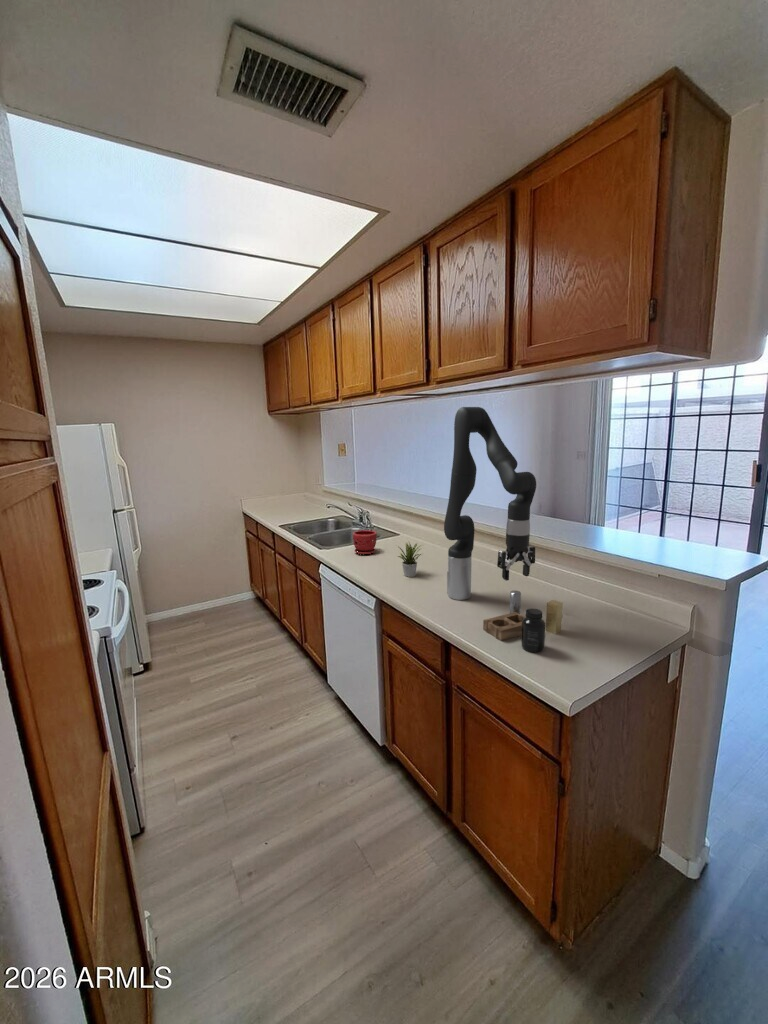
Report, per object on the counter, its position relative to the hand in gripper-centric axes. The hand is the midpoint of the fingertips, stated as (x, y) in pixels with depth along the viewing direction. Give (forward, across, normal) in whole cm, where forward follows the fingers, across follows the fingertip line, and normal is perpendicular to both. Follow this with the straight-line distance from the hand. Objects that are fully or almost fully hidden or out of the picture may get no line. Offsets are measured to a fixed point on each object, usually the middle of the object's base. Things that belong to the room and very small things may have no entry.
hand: (515, 577), depth 146 cm
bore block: (+17, +5, +4) cm, 18 cm away
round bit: (+17, -2, -2) cm, 17 cm away
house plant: (+18, +8, -60) cm, 63 cm away
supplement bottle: (+17, +6, +16) cm, 24 cm away
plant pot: (+18, +14, -106) cm, 109 cm away
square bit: (+16, -8, +11) cm, 21 cm away
